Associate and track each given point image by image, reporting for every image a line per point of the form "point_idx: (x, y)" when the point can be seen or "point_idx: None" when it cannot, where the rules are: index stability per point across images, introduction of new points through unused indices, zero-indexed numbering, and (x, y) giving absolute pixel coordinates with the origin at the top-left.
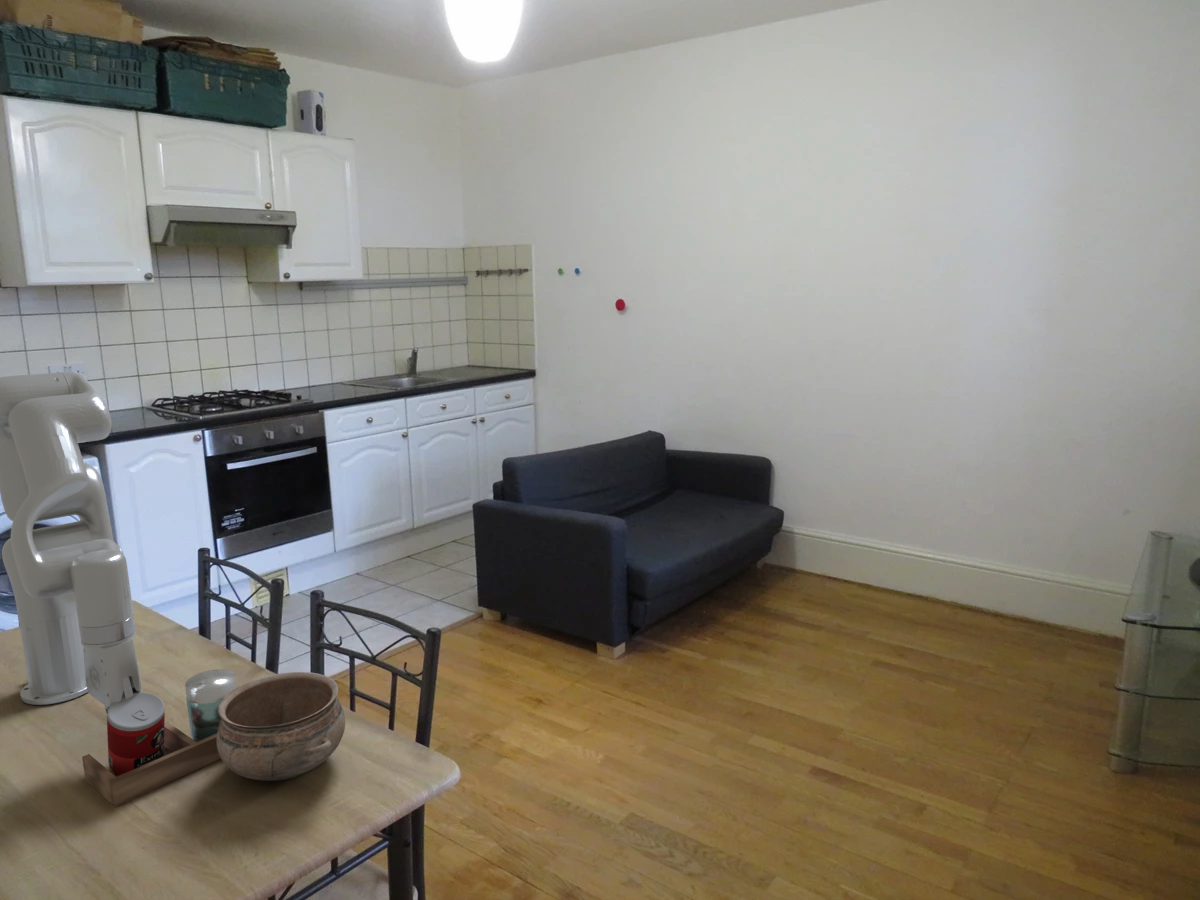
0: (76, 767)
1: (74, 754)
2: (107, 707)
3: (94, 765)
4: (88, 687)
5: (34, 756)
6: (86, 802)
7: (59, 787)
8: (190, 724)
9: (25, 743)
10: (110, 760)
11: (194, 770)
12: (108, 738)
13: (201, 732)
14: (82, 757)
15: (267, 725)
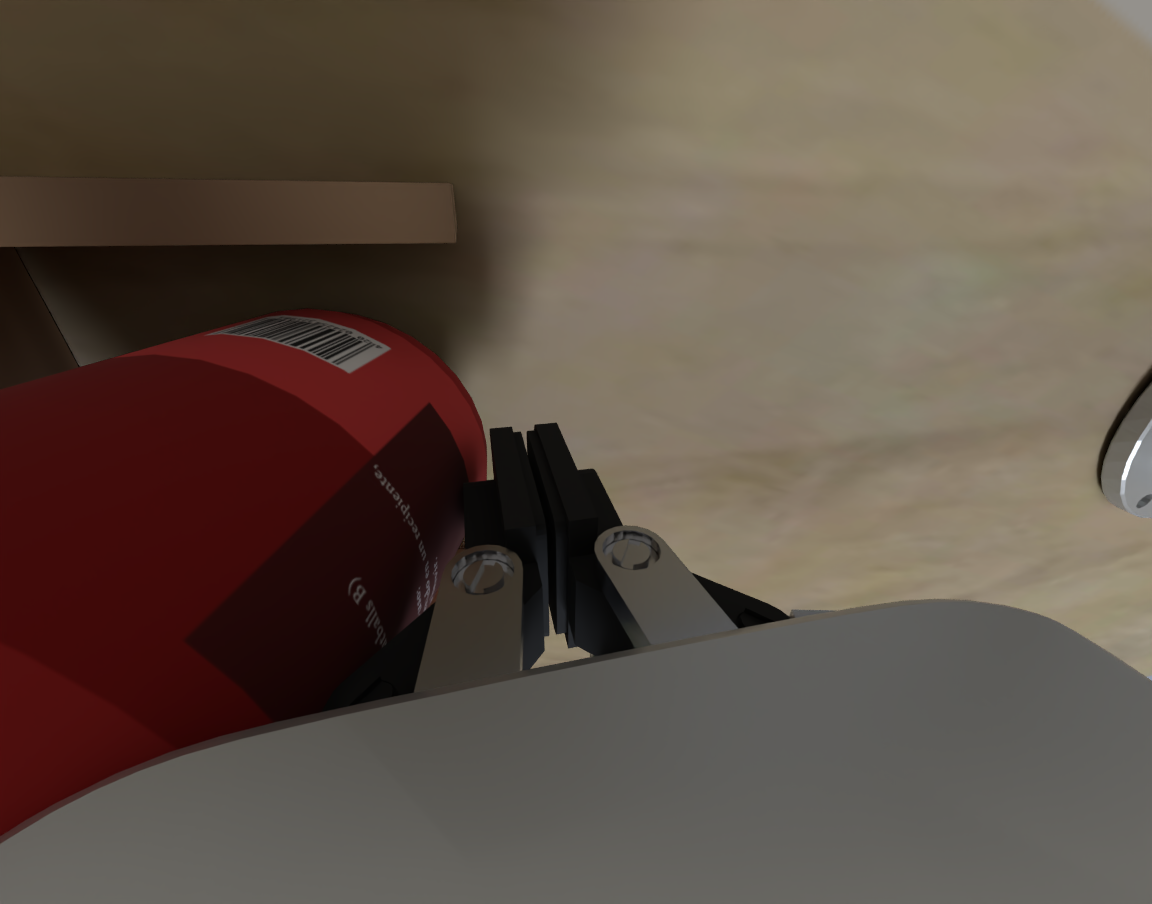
0: (635, 208)
1: (765, 255)
2: (626, 585)
3: (197, 194)
4: (1058, 697)
5: (940, 92)
6: (128, 58)
7: (486, 20)
8: None
9: (1083, 121)
10: (259, 325)
11: None
12: (56, 404)
13: None
14: (441, 183)
15: None
